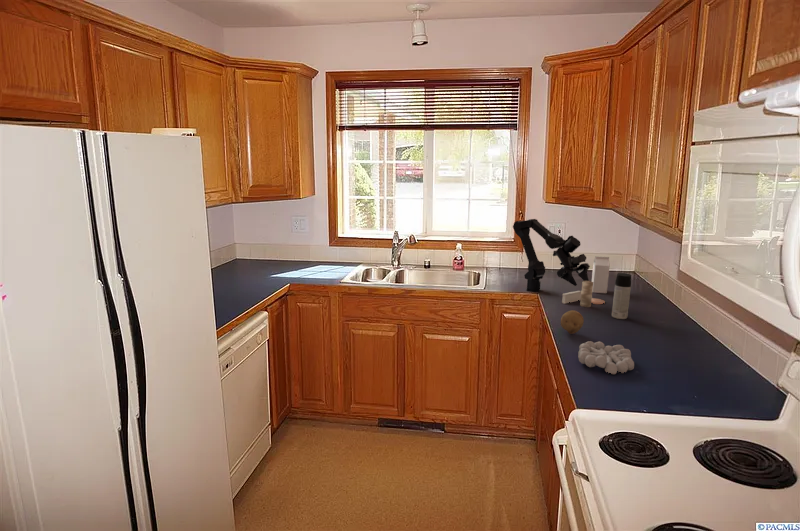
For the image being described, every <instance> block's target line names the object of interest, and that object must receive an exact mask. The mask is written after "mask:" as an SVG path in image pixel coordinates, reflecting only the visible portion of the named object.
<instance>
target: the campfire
mask: <svg viewBox="0 0 800 531" xmlns="http://www.w3.org/2000/svg"><path fill="white" fill-rule="evenodd" d="M578 349H579V351H578V352H577V353H578V355H577V356H578V361H579V363H581V364H583V365H586V366H587V367H589V368H594V367H596V366H597V367H599V368H602V369H604V371H605V372H606V373H607V372H608V373H607V374H609V373H611V374H610V375H616V374H617V373H619V372H621V373H620V374H624V372H625V373H627V372H628V371H632V370H634V368H635V361H634V360H633V358H632V352H631V350H630V349H629V348H625V347H624V346H623V345H622V344H616V345H615V344H614V345H613V346H612V345H605V343H603V342H602V341H596V342H593V341H591V340H590V341H589V340H588V341H586V342H584V343H580V345H579V348H578ZM617 371H618V372H617Z"/></svg>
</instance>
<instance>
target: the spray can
mask: <svg viewBox="0 0 800 531" xmlns="http://www.w3.org/2000/svg"><path fill="white" fill-rule="evenodd" d="M631 287H632V275H631V274H629V273H626V272H625V273H624V272H618V273H617V275H616V278H615V283H614V290H613V300H612V306H611V307H612V308H611V317H612V318H614V319H618V320H625V319H627V318H628V315H629V307H630V306H629V305H630V298H631Z"/></svg>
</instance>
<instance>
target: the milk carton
mask: <svg viewBox="0 0 800 531" xmlns="http://www.w3.org/2000/svg"><path fill="white" fill-rule="evenodd" d="M592 264H593V265H592V271H591V272H592V273H591V281H592V282H593V291H592V293H598V294H607V293H608V285H609V275H610V257H609V256H594V259H593V262H592Z"/></svg>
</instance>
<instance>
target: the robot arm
mask: <svg viewBox="0 0 800 531" xmlns="http://www.w3.org/2000/svg"><path fill="white" fill-rule="evenodd" d="M512 228H513V231H514V233H515V234H516V236H518V237H519V239H520V241H521V245H522V247H523V249H524V250H523V251H524V252H525V255H526V258H527V262H528V265H527V271H526V273H524V280H525V279H526V280H527V282H526V289H525V290H526V292H528V291H529V292H540V290H541V281H540V280H541V279H543V278H544V275H545V274H546V266H545V263H544V261H540V260H539V259H538V256H537V254H536V250H535V248H534V247H535V246H534V245H533V242H532V239H531V236H530V232H531V229H532V230H533V231H534V232H535V233H537V234H538V235H539V236H540V237H541V238H542V239H544V240H545V245H547V247H549V249H551V250H553V252H552V256H553V257H557V258H558V259H559V262H560V263H559V265H560V266H562V267H561V268H560V269H558V270H557V271H556V275H557V277H558V278H560V279H563V280H565V281H567V282H568V283H570V284H571V285H572V286H574V287H577V285H578V284H577V282H576V280H575V278H574V276H573V272H576V274H577V275H578V277H579V278H581V280H583V281H590V280H589V277H588V271H589V269H590V267H591V266H590V264H589V263H588V262H586V260H587V256H586V255H585V254H584V253H582V254H579V255H577V256H575V255H573V256H572V255H571V254H573V253H574V252H575V251H576V250H577V249H578V248H579V247H580V246H581V241H580V240H579V239H577V238H576V237H574V236H573V235H569V236H568V237H567V239H564V238H563V237H561V236H560V235H559V234H555V233H553V232H551V231H550V230H549V229H548V228H546V227H545V226H544V225H543V224H542V223H540V221H539V220H538V219H537V218H530V219H529V218H528V219H527V220H516V221H514V223H513V225H512ZM554 249H556V250H554Z"/></svg>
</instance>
